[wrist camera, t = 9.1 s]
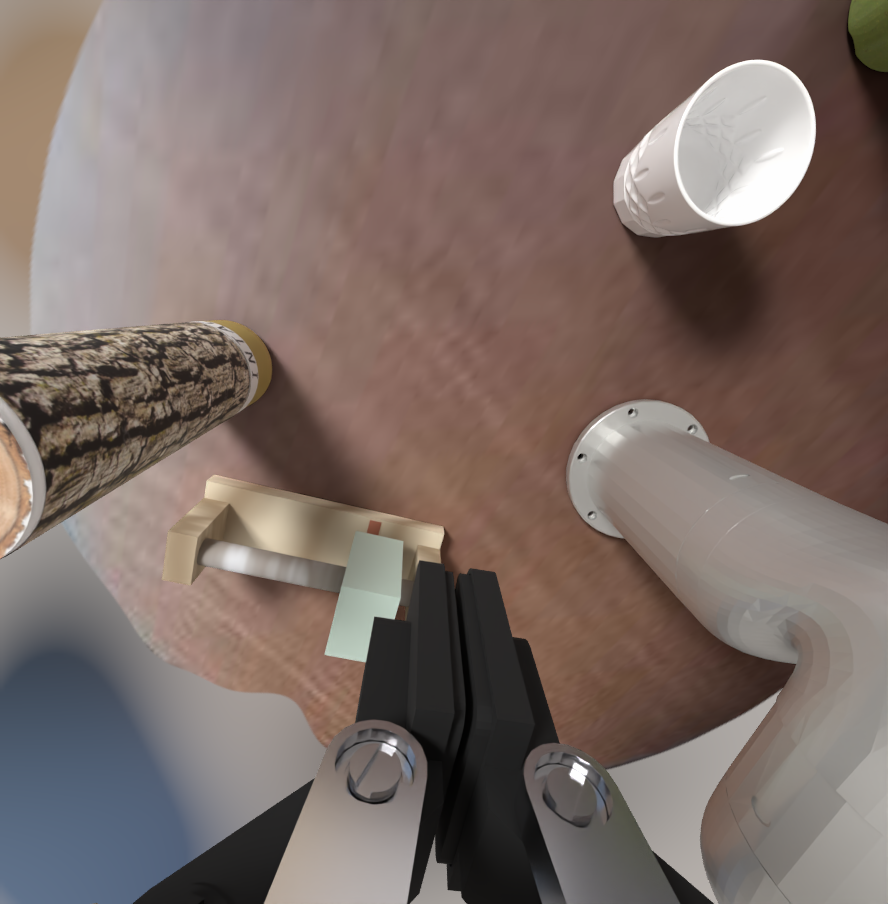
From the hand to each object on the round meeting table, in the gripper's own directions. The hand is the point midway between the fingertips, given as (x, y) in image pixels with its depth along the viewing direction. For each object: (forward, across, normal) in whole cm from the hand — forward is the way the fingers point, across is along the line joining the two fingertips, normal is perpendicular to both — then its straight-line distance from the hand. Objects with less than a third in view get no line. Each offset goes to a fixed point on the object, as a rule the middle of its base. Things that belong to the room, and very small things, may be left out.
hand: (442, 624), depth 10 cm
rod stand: (+30, +7, +14) cm, 34 cm away
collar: (+27, +2, +15) cm, 31 cm away
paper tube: (+30, +16, +1) cm, 34 cm away
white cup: (+30, -14, -18) cm, 38 cm away
